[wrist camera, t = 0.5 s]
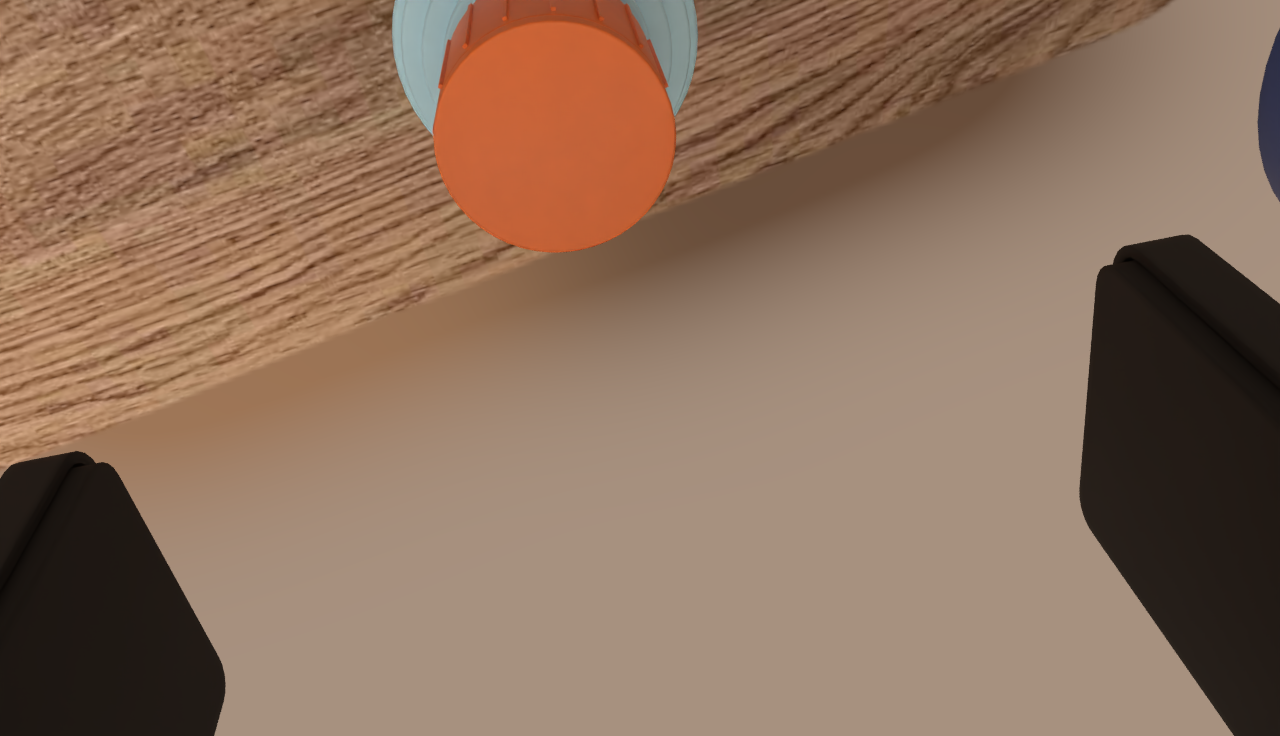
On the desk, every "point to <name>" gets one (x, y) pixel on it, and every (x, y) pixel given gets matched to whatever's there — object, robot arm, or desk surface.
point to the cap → (553, 121)
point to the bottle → (438, 3)
